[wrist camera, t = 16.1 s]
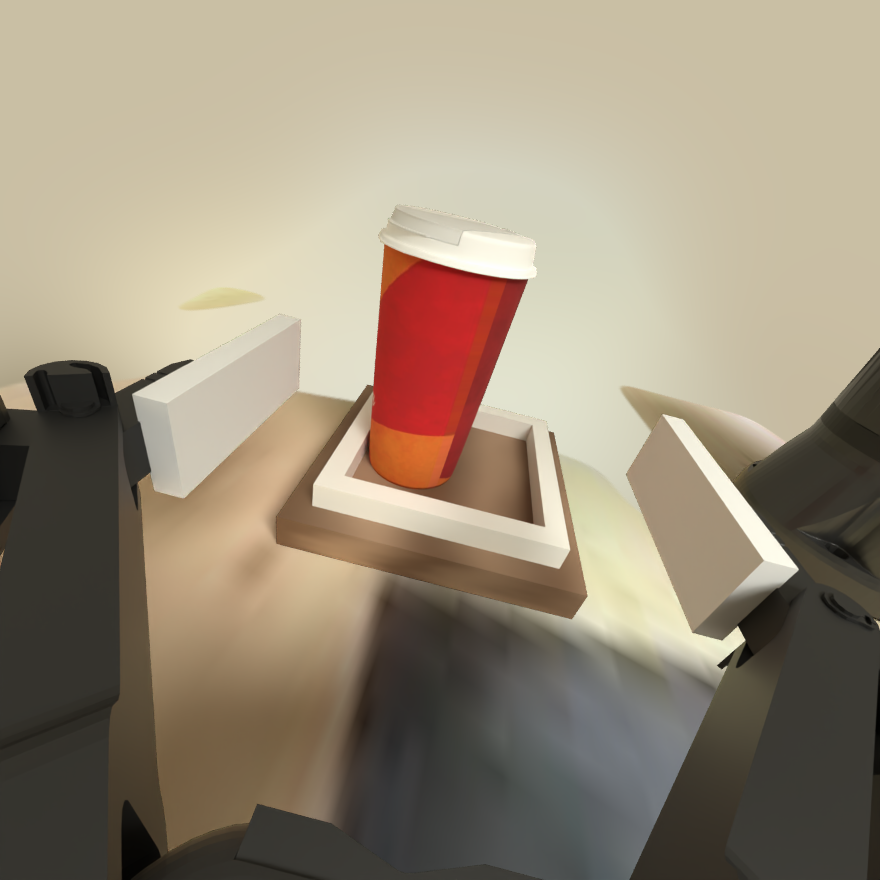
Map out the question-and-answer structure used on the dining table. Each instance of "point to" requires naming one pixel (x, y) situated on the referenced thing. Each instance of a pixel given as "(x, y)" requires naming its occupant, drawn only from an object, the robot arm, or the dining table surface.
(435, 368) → the paper cup
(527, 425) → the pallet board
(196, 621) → the dining table surface
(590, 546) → the dining table surface
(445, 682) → the dining table surface
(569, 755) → the dining table surface
